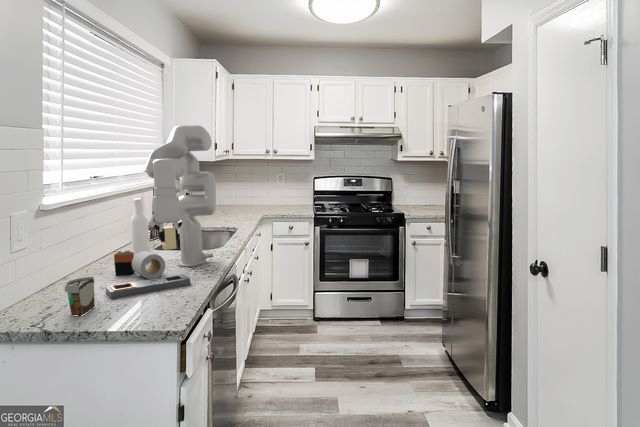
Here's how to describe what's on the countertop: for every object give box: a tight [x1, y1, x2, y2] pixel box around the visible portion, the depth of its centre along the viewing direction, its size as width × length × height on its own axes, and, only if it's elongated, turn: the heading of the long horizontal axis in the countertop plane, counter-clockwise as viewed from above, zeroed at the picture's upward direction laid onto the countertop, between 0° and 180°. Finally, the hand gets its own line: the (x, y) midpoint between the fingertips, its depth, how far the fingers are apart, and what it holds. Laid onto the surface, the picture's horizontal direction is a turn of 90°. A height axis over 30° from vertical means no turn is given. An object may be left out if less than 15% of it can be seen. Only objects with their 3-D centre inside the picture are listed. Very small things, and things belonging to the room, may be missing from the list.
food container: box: [64, 276, 96, 316], centre depth 145 cm, size 12×6×10 cm, turn 5°
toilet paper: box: [132, 251, 166, 280], centre depth 189 cm, size 10×10×10 cm
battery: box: [113, 250, 136, 276], centre depth 194 cm, size 4×7×10 cm, turn 91°
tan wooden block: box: [161, 225, 177, 251], centre depth 173 cm, size 4×4×8 cm
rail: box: [105, 273, 192, 300], centre depth 170 cm, size 28×9×3 cm, turn 124°
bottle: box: [129, 198, 151, 263], centre depth 218 cm, size 8×8×30 cm
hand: (168, 240), depth 173 cm, fingers closed on tan wooden block, 4 cm apart
